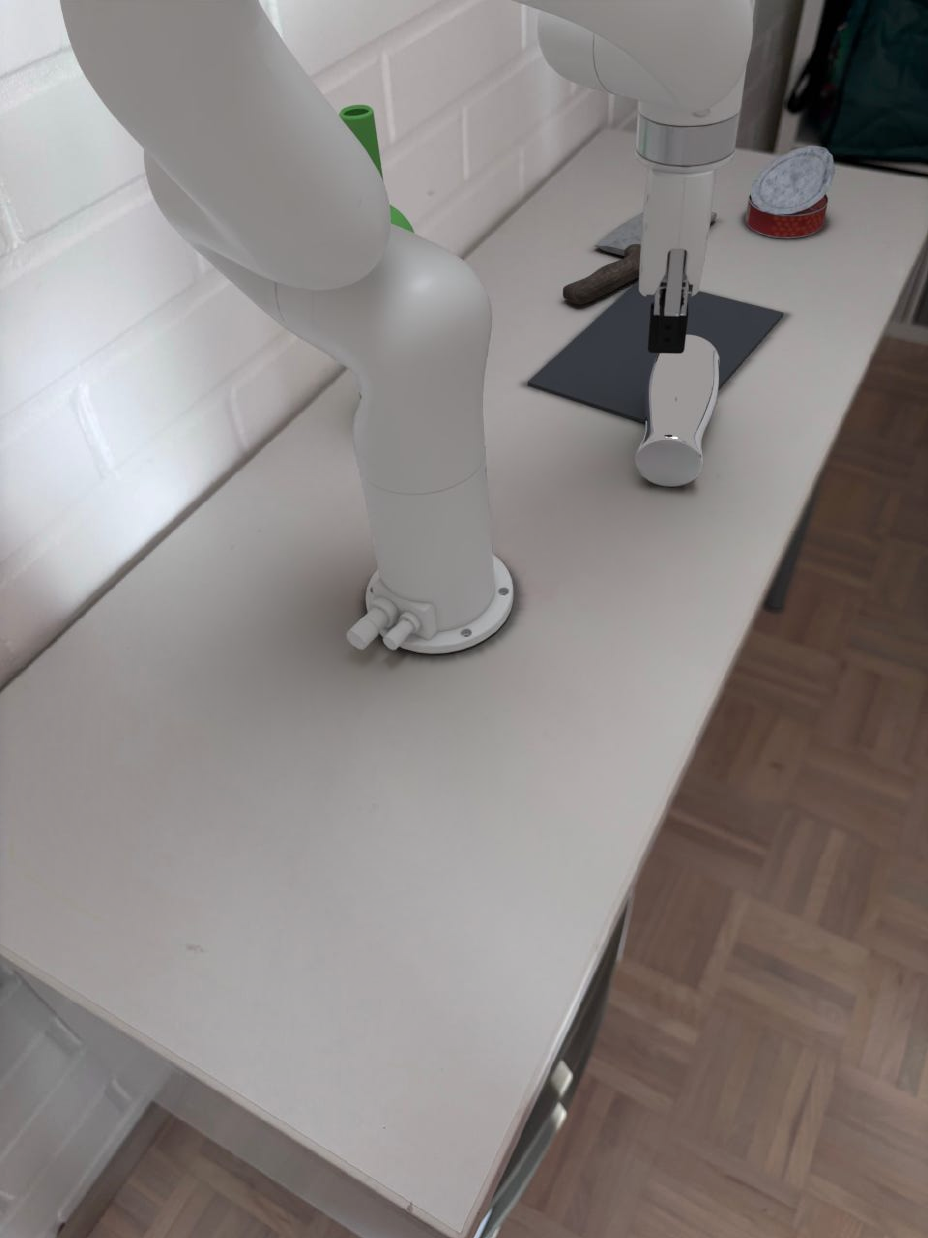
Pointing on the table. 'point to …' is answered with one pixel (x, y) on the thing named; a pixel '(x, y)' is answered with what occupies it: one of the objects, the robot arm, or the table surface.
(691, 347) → the beer glass
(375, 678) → the table surface
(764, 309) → the mat
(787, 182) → the canned food
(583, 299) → the cleaver
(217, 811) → the table surface
